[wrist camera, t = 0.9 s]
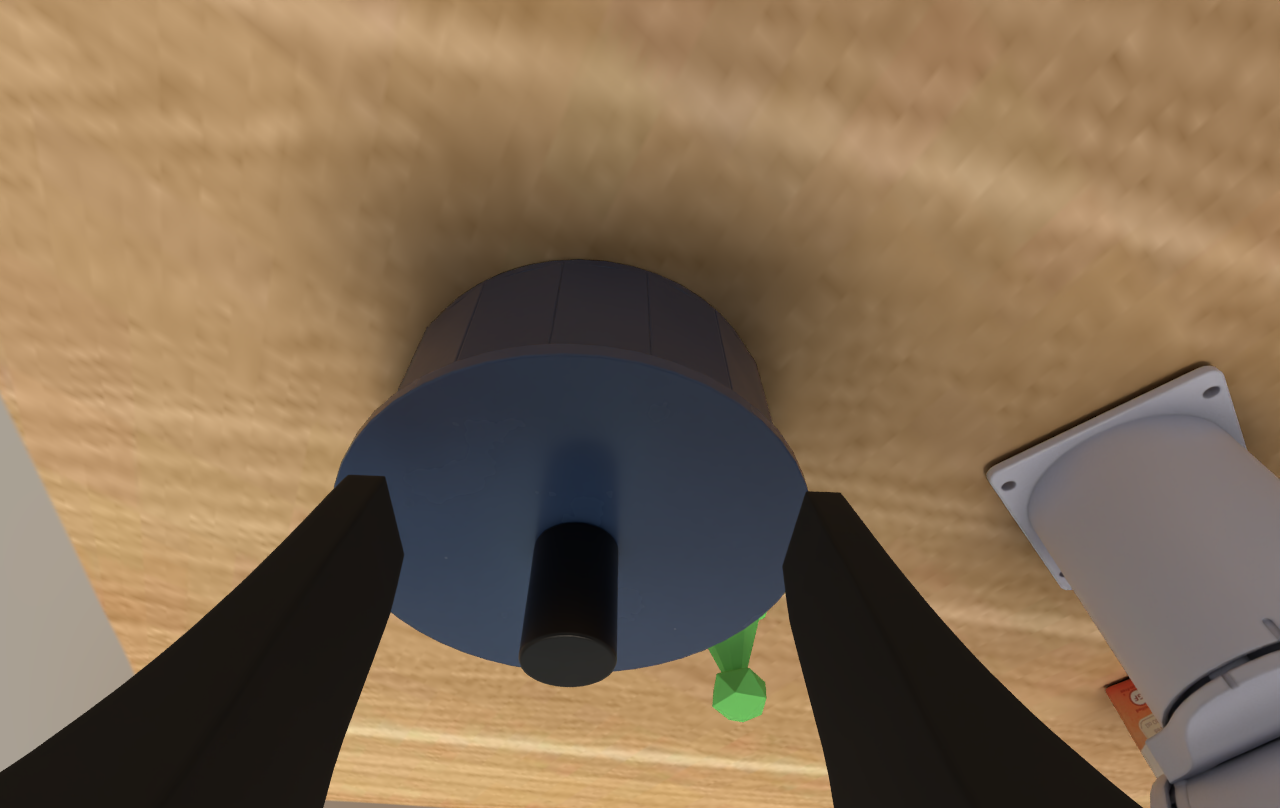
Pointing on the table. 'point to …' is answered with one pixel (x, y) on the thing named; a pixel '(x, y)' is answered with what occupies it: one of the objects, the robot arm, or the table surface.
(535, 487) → the pan lid
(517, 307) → the pan
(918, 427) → the table surface
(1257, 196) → the table surface
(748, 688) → the game piece
